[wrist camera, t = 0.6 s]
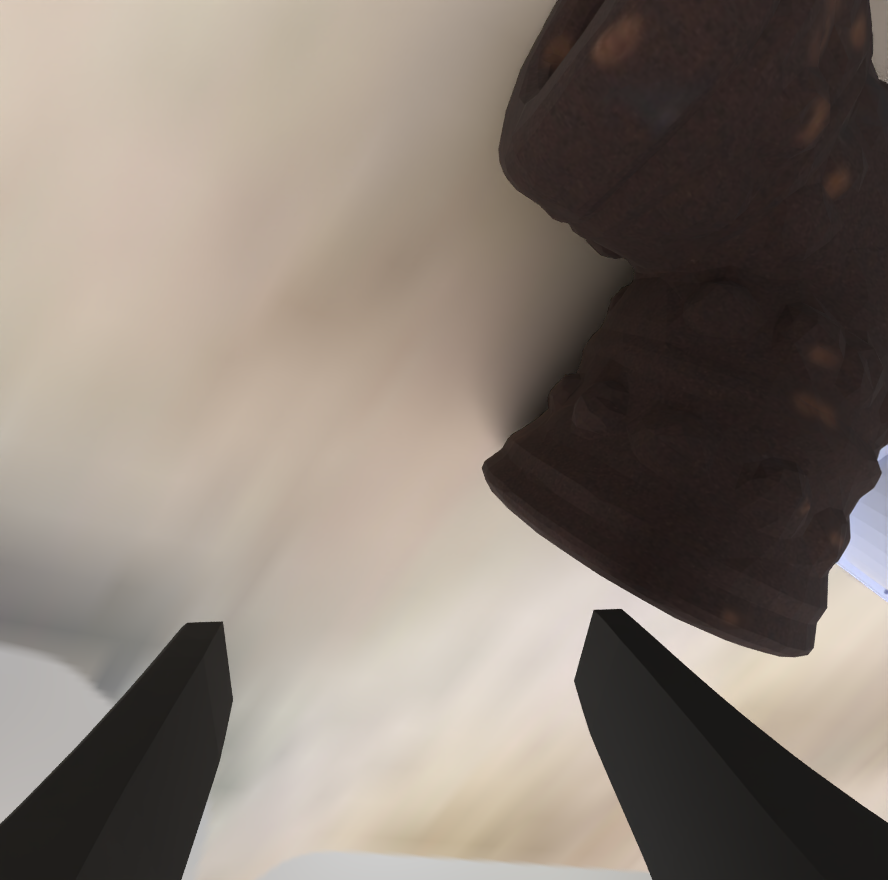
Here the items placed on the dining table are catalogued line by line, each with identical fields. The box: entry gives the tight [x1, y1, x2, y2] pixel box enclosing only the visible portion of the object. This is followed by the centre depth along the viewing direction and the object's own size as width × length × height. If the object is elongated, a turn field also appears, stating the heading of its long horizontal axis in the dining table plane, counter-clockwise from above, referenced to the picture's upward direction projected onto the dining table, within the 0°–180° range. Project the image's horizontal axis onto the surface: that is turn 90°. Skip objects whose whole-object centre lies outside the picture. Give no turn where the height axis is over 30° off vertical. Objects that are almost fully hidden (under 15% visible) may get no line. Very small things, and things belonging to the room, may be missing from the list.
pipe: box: [482, 0, 888, 657], centre depth 14 cm, size 10×15×15 cm
